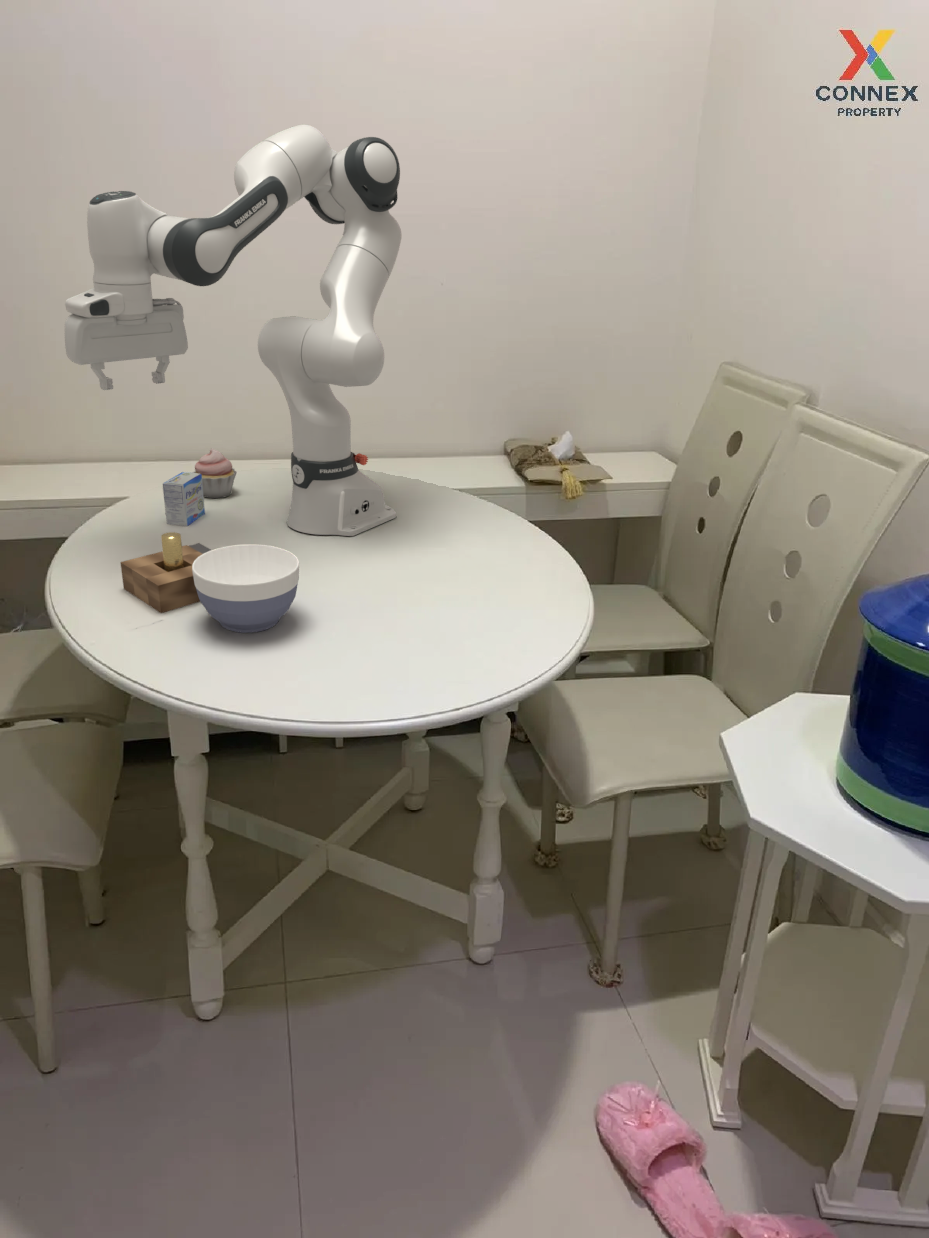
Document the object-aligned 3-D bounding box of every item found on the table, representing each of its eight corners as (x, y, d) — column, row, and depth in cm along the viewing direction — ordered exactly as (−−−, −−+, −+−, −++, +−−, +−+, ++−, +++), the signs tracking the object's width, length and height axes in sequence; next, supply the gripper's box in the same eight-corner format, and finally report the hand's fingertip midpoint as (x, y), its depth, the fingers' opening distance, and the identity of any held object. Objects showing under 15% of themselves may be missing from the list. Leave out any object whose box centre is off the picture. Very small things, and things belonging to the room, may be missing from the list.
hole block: (189, 572, 160) (186, 545, 158) (227, 594, 152) (225, 566, 150) (123, 590, 152) (120, 562, 150) (161, 614, 145) (158, 585, 142)
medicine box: (187, 528, 179) (183, 484, 175) (165, 525, 179) (161, 482, 175) (205, 514, 186) (202, 473, 182) (185, 512, 186) (181, 470, 182)
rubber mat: (199, 544, 171) (198, 543, 171) (222, 557, 166) (222, 555, 166) (149, 557, 165) (149, 555, 164) (172, 571, 160) (172, 569, 160)
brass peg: (179, 587, 154) (174, 530, 150) (189, 592, 152) (184, 536, 148) (163, 591, 152) (157, 535, 148) (172, 597, 150) (167, 540, 146)
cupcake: (193, 487, 200) (189, 442, 196) (237, 486, 202) (235, 441, 198) (192, 501, 192) (188, 455, 188) (238, 500, 194) (236, 454, 190)
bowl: (213, 595, 152) (208, 541, 148) (309, 601, 152) (308, 547, 147) (183, 639, 138) (177, 581, 133) (289, 646, 137) (287, 587, 133)
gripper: (172, 295, 159) (178, 376, 166) (54, 301, 146) (66, 389, 152) (191, 299, 156) (197, 382, 162) (72, 306, 142) (84, 396, 148)
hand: (133, 386), depth 157 cm, fingers open, 8 cm apart
